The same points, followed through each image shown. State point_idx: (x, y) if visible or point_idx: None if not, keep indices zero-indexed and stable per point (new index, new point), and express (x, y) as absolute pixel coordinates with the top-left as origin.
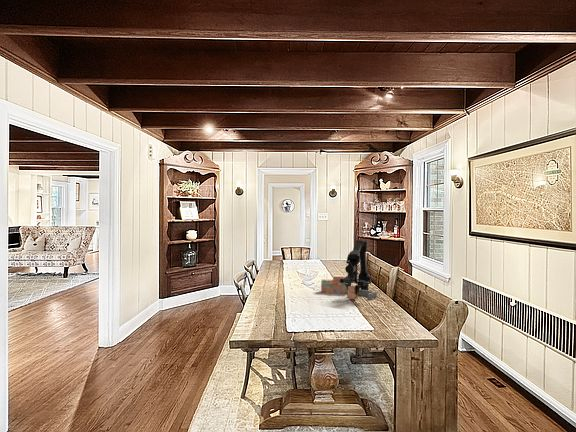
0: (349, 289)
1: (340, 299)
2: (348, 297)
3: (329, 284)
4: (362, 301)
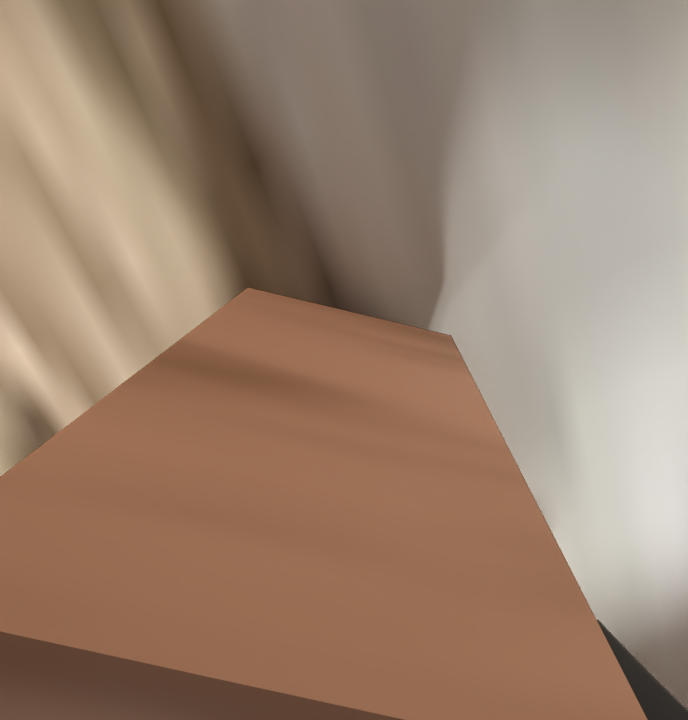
0: (426, 506)
1: (639, 225)
2: (426, 336)
3: None
4: (49, 293)
